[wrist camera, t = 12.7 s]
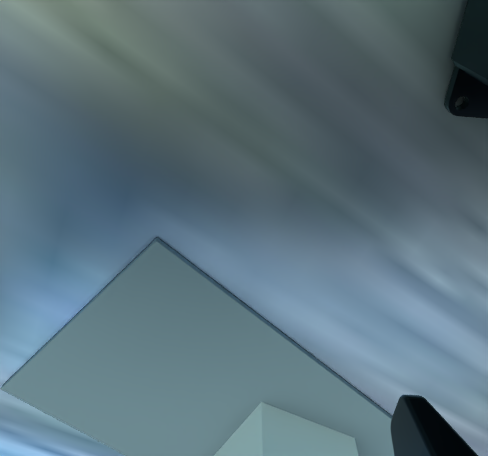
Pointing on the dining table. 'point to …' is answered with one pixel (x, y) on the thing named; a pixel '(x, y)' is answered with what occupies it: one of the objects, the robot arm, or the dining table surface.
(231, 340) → the placemat
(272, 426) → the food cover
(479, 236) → the dining table surface
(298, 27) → the dining table surface
